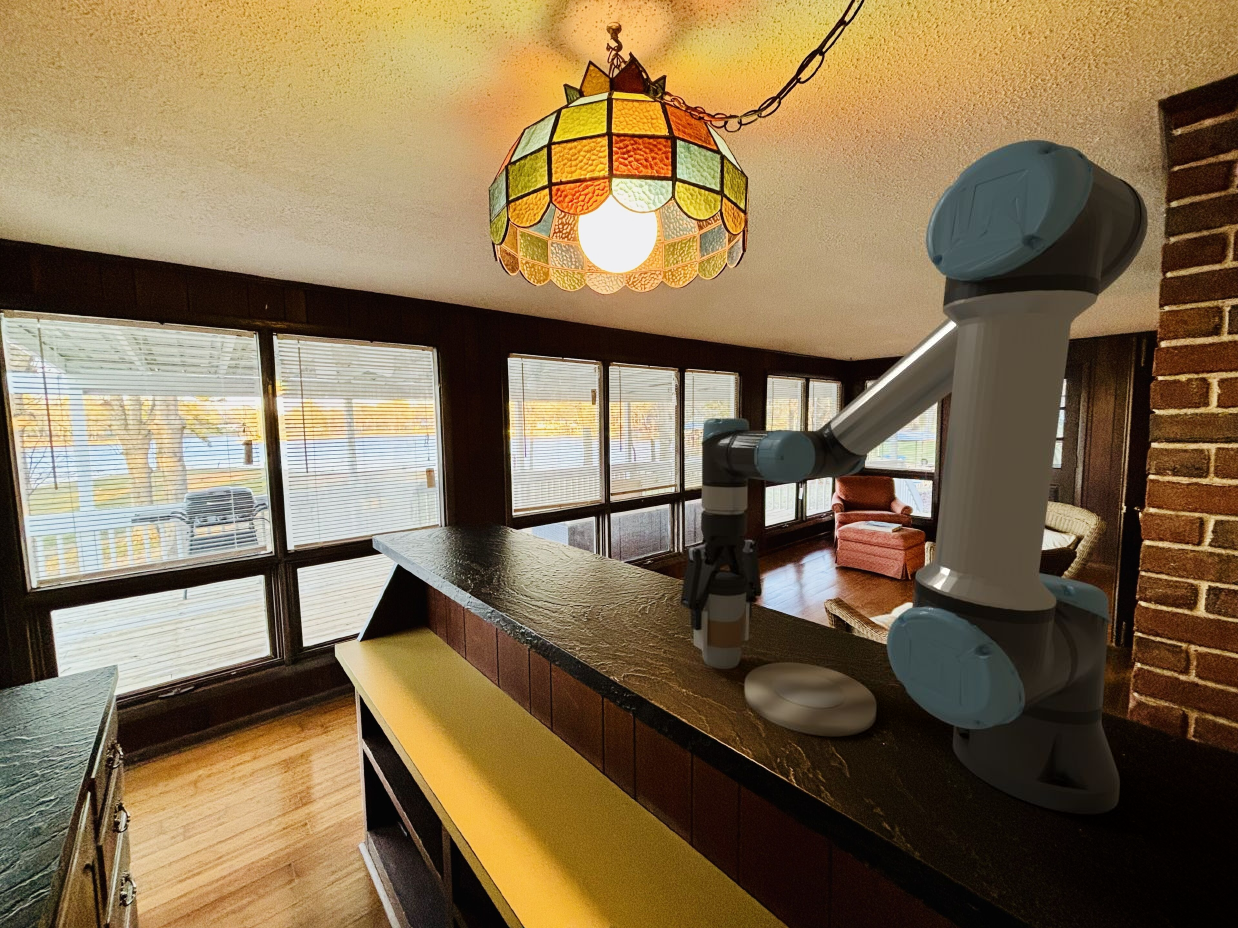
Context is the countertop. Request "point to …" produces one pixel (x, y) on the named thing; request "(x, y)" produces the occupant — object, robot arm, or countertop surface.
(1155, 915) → the countertop surface
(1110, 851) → the countertop surface
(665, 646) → the countertop surface
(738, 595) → the coffee cup
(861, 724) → the cream round saucer
